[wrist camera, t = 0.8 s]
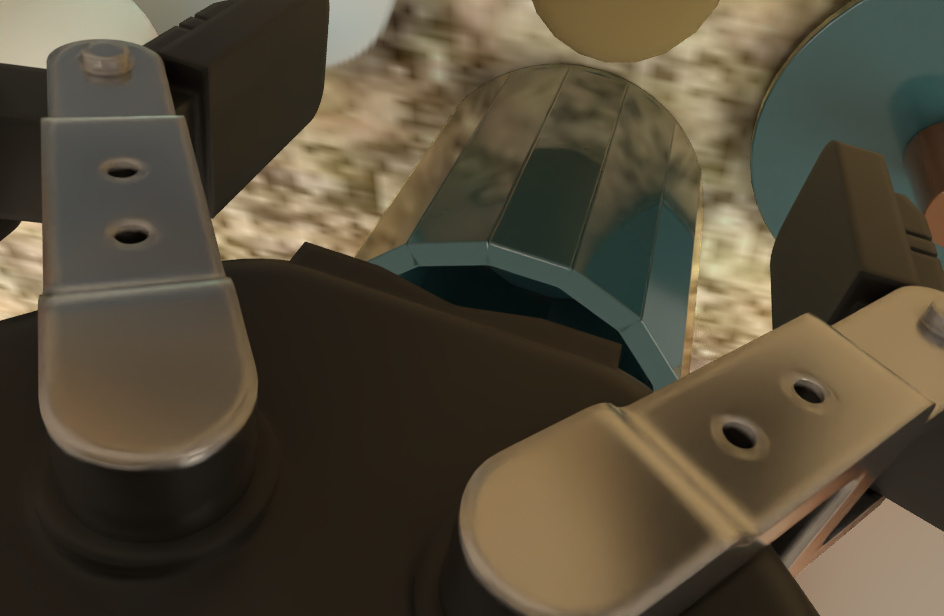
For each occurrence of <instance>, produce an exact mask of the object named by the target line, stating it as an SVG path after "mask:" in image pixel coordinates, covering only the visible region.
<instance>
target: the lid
mask: <svg viewBox="0 0 944 616" xmlns="http://www.w3.org/2000/svg"><path fill="white" fill-rule="evenodd" d="M832 140H835V141H838V142H842V143H845V144H849V145H852V146H855V147H859V148H862V149H866V150H869V151H872V152H876V153H879V154H882V155H883V156H884V158H885V162H886V165H887V169H888V172H889V176H890V179H891V183H892V186H893V190H894V192H895V193H898V194H902V195H905V196H906V197H907V198H908V199H909V200H910V201H911V202H912V203H913V204H914V205H915V206H916V208H917V209H918V210H919V211H920V212H921V213H922V214H923V215H924V216H925V217H926V220H927V223H928V226H929V229H930V232H931V235H932V240H931V242H934V244H935V247H936V250H937V253H938V256H937V259H940V262H941V265H942V268H943V271H944V0H852V1H851V2H849V3H848V4H846V5H845V6H844V7H842V8H841V9H839V10H838V11H836V12H835V13H834V14H832V15H831V16H829V17H828V18H827V19H826V20H825V21H824V22H823V23H821V24H820V25H819V26H818V27H817V28H816V29H815V30H813V31H812V32H811V33H810V34H809V35H808V36H807V37H806V38H805V39H804V40H803V41H802V42H801V44H800V45H799V46H798V47H797V48H796V49H795V50H794V51H793V52H792V53H791V55H790V56H789V57H788V59H787V60H786V62H785V63H784V64H783V66H782V67H781V69H780V70H779V71H778V73H777V74H776V76H775V78H774V79H773V81H772V83H771V85H770V87H769V89H768V91H767V92H766V94H765V96H764V99H763V101H762V104H761V107H760V109H759V112H758V115H757V117H756V121H755V126H754V130H753V135H752V141H751V153H750V169H751V183H752V187H753V192H754V196H755V200H756V203H757V206H758V208H759V211H760V213H761V216H762V218H763V220H764V222H765V223H766V225H767V227H768V228H769V230H770V232H771V233H772V235H773V236H774V238H775V239H776V238H777V235H778V233H779V231H780V228H781V226H782V224H783V222H784V221H785V219H786V217H787V215H788V213H789V211H790V209H791V207H792V206H793V204H794V202H795V200H796V198H797V196H798V194H799V192H800V191H801V189H802V187H803V185H804V183H805V181H806V179H807V177H808V176H809V174H810V172H811V170H812V168H813V166H814V164H815V162H816V161H817V159H818V157H819V155H820V153H821V152H822V150H823V149H824V147H825V146H826V145H827V144H828V143H829V142H830V141H832Z"/></svg>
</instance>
